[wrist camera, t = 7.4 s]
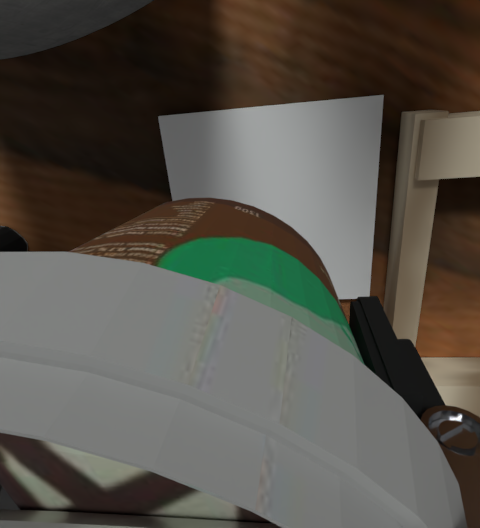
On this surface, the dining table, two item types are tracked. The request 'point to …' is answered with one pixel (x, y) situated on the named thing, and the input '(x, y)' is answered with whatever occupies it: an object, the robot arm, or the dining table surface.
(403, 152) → the maple holder
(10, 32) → the hip flask
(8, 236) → the camera
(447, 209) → the dining table surface
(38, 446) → the food container
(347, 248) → the grey mat
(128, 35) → the dining table surface
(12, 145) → the dining table surface
